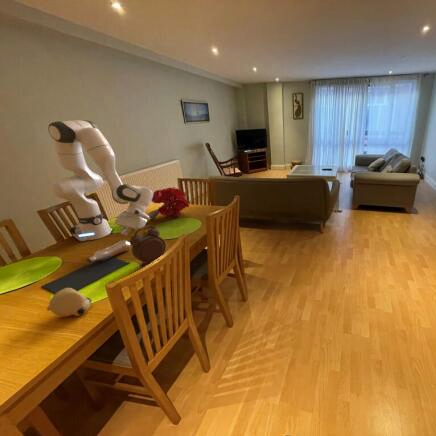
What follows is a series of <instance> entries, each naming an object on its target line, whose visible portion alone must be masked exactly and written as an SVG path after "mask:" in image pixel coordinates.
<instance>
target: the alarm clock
mask: <svg viewBox="0 0 436 436" xmlns="http://www.w3.org/2000/svg"><path fill="white" fill-rule="evenodd" d="M146 228H149V229H148V230H147V231H146V232H142V235H140V234H138V232H140V230H141V229H142V230H143V229H146ZM142 230H141V231H142ZM160 233H161V232H160V230H159V229H158V228H156V226H154V227H153V226H152V225H145V226H144V227H142V228H139V229H138V230H135V232H134V235H131V236H130V237H131V238H130V239H129V243H130V245H131V253H132V256H133V257H134V258H135V259H137V260H138V261H140V262H141V264H142V266H143V265H144V264H145V263H146V265H147V264H148V265H149V264H151V262H152V261H154V260H155V259H157V258H158V257H160V256H161V255H162V256H164V254H165V252H166V242H165V240H164V239H163V238H162V237H160V236H161V234H160ZM152 263H153V262H152Z"/></svg>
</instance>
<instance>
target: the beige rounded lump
mask: <svg viewBox="0 0 436 436" xmlns="http://www.w3.org/2000/svg"><path fill="white" fill-rule="evenodd" d="M92 300H93V299H91V298H90V297H86V296H85V295H84V294H82V293H81V292H79V290H78V291H76V290H74V289H72V288H65V289H63V290H61V291H59V292H57V293H56V294H55V293H54V294H53V296H52V297H51V298H50V300H49V304H48V306H47V307H46V310H47V311H51V312H52V314H54V315H56V316H57V317H58V318H59V319H63V317H71V316H74V317H79V316H81V315H83V314H85V313H86V312H87V311H88V310H89V309H90V307H91V306H92V305H91V303H93V301H92Z"/></svg>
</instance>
